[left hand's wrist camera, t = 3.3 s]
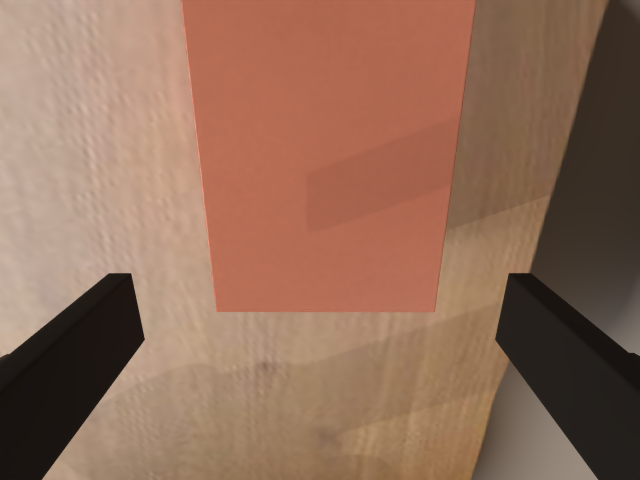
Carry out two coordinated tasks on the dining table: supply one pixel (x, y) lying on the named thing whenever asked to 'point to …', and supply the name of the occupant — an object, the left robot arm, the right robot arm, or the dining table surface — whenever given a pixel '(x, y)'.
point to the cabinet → (327, 148)
